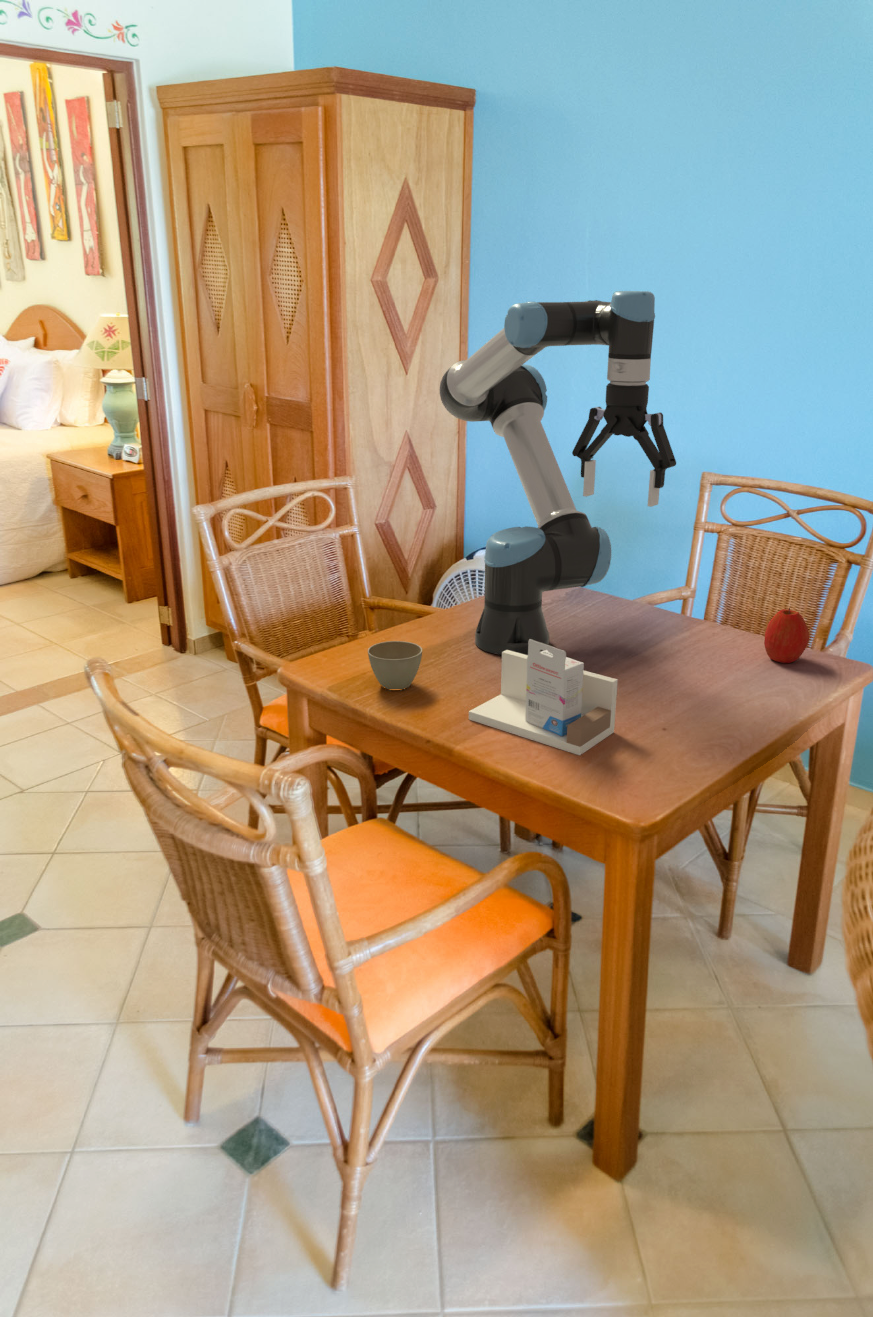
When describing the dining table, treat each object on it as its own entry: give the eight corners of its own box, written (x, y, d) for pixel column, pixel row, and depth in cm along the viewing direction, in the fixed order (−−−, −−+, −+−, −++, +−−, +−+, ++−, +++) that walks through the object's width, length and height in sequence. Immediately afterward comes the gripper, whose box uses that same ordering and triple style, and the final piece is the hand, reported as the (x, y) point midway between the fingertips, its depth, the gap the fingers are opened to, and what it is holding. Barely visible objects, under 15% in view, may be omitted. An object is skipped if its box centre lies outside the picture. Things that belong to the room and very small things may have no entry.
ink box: (582, 728, 167) (587, 644, 162) (561, 737, 164) (566, 652, 158) (543, 712, 173) (547, 631, 167) (523, 721, 170) (526, 638, 164)
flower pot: (431, 680, 190) (431, 645, 187) (407, 700, 182) (407, 663, 179) (384, 672, 194) (383, 637, 191) (358, 690, 186) (357, 654, 183)
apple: (811, 658, 201) (819, 607, 197) (795, 670, 195) (802, 617, 191) (771, 649, 206) (778, 598, 202) (754, 660, 200) (761, 608, 196)
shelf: (468, 719, 174) (469, 667, 171) (505, 699, 182) (506, 649, 179) (579, 755, 161) (582, 700, 158) (613, 732, 169) (617, 679, 166)
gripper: (557, 379, 186) (552, 494, 194) (682, 389, 171) (671, 513, 179) (579, 376, 192) (573, 488, 199) (701, 386, 177) (690, 506, 185)
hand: (619, 500), depth 189 cm, fingers open, 13 cm apart
